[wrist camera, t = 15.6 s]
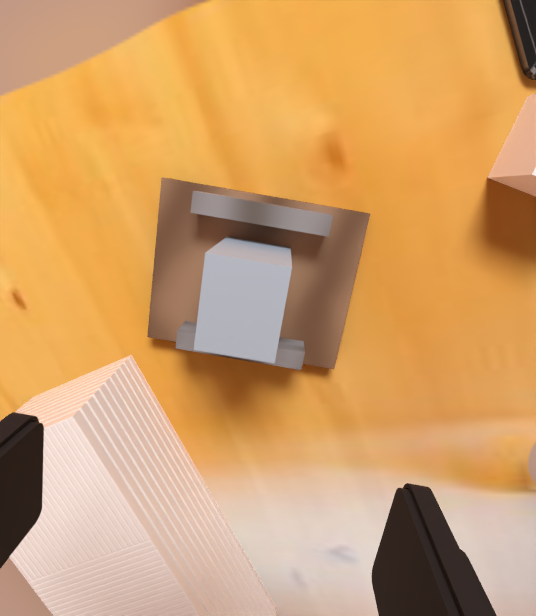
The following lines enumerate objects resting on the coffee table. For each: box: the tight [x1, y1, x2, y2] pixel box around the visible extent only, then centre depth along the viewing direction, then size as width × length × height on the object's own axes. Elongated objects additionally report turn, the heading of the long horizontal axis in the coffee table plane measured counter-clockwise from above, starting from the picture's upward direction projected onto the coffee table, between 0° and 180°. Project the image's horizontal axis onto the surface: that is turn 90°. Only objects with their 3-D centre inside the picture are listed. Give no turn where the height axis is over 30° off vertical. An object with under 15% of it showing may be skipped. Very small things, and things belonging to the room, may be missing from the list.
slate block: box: [194, 236, 292, 364], centre depth 28 cm, size 5×6×9 cm
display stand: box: [148, 178, 370, 370], centre depth 32 cm, size 16×13×4 cm
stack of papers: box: [9, 355, 276, 616], centre depth 36 cm, size 32×11×11 cm, turn 24°
